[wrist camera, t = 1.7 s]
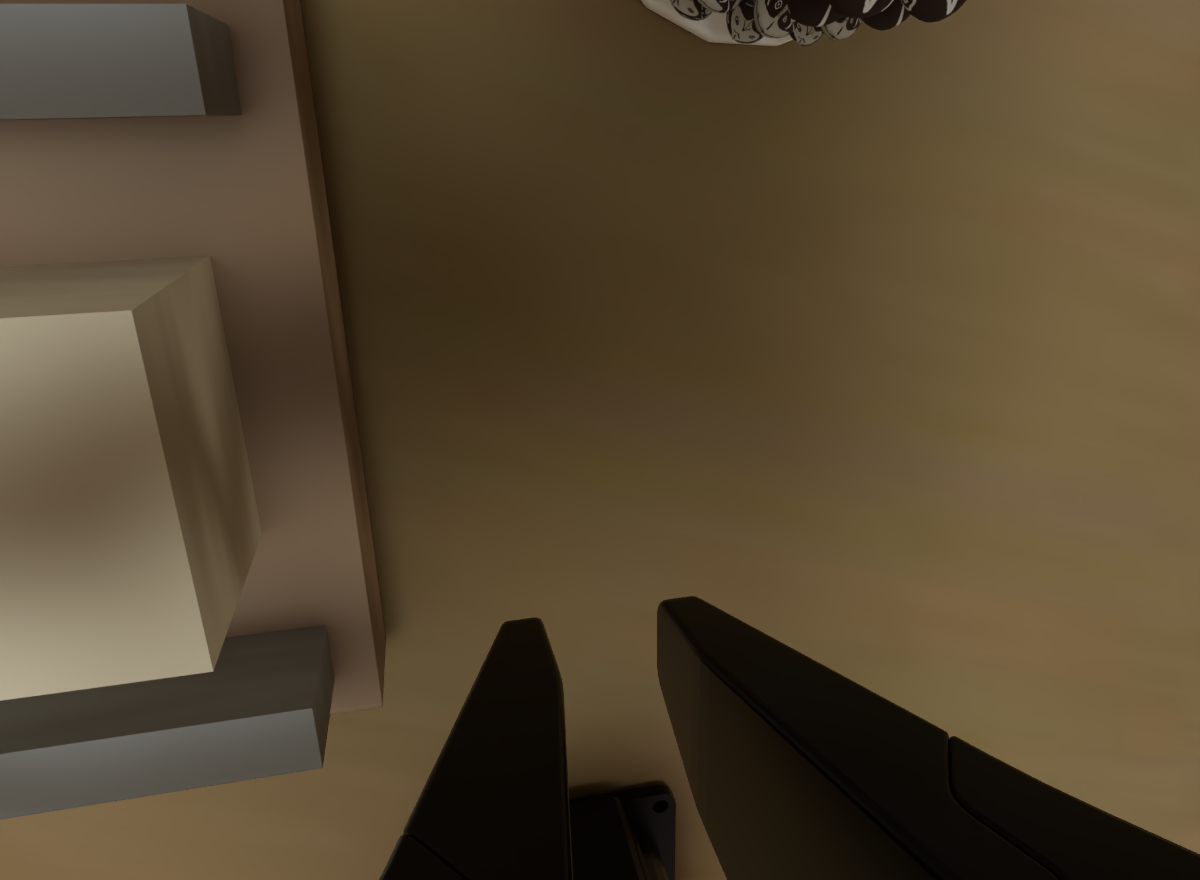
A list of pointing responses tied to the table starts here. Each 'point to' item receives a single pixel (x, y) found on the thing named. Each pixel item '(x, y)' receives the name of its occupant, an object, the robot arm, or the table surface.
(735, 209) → the table surface
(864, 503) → the table surface
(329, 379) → the channel board
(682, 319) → the table surface
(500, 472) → the table surface
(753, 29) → the decorative candle
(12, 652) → the cream block
